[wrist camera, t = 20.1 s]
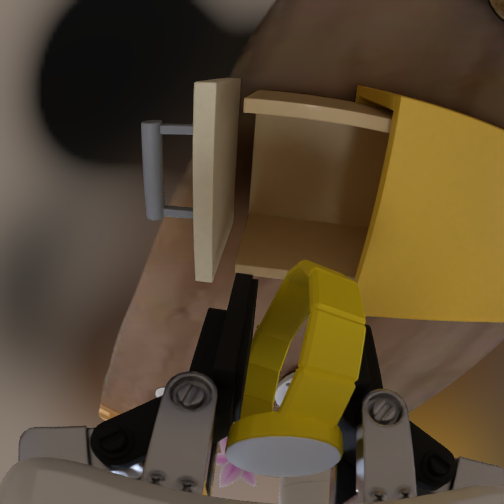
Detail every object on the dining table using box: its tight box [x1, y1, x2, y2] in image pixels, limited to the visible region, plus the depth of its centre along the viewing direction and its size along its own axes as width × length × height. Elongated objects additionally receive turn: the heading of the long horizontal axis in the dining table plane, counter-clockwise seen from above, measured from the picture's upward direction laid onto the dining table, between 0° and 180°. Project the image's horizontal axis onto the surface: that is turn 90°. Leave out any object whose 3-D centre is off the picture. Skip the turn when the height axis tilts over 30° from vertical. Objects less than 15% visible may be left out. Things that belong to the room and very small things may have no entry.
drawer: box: [141, 78, 393, 283], centre depth 21 cm, size 19×13×9 cm, turn 86°
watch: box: [225, 260, 366, 477], centre depth 9 cm, size 6×3×6 cm, turn 160°
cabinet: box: [354, 85, 504, 322], centre depth 21 cm, size 16×14×11 cm
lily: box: [216, 437, 257, 488], centre depth 52 cm, size 12×12×10 cm
